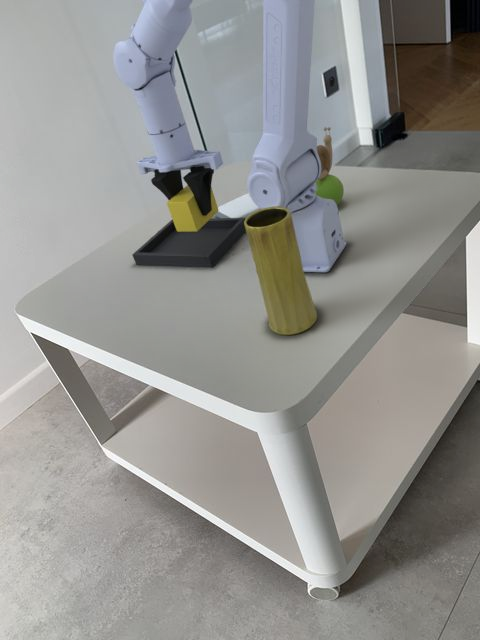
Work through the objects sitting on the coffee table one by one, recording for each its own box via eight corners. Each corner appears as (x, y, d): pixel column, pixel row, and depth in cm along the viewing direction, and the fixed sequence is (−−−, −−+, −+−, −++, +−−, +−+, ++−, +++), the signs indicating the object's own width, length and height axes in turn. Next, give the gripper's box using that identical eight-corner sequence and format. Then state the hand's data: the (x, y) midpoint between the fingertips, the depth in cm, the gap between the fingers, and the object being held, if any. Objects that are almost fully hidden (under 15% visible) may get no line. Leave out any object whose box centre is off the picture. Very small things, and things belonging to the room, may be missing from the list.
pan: (248, 228, 94) (245, 217, 93) (212, 267, 86) (208, 256, 85) (176, 228, 102) (172, 218, 100) (136, 265, 93) (131, 254, 92)
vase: (314, 334, 66) (289, 225, 57) (265, 337, 68) (234, 233, 59) (320, 304, 70) (297, 200, 62) (274, 309, 72) (246, 208, 64)
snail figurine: (353, 197, 94) (342, 125, 86) (337, 214, 90) (324, 141, 83) (325, 196, 97) (312, 127, 89) (308, 213, 93) (293, 142, 86)
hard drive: (215, 216, 102) (270, 189, 105) (236, 227, 96) (294, 198, 99) (212, 208, 101) (269, 181, 104) (233, 219, 95) (292, 190, 98)
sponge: (218, 210, 91) (209, 181, 88) (197, 231, 86) (187, 201, 83) (199, 211, 93) (189, 183, 90) (176, 231, 88) (166, 202, 85)
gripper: (113, 142, 81) (146, 225, 90) (192, 133, 75) (221, 224, 83) (140, 124, 86) (170, 205, 94) (218, 115, 79) (242, 203, 87)
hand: (195, 213), depth 89 cm, fingers closed on sponge, 4 cm apart
